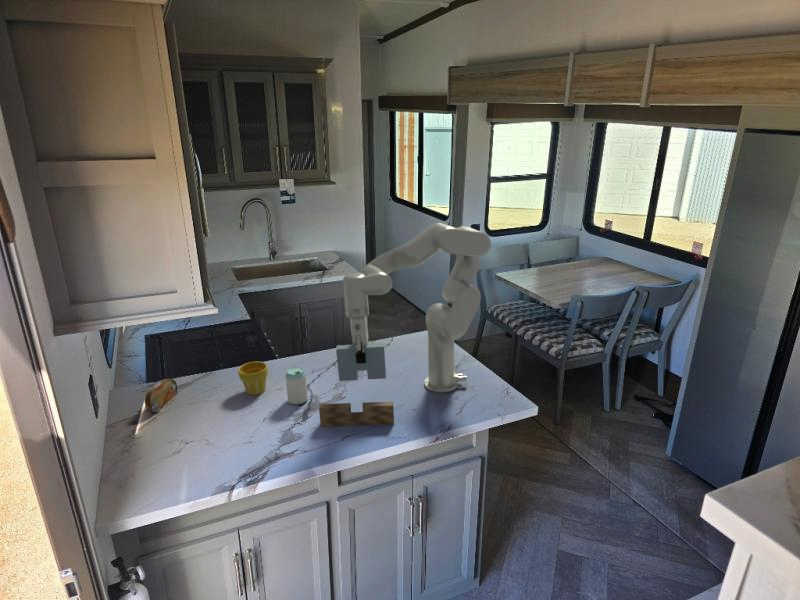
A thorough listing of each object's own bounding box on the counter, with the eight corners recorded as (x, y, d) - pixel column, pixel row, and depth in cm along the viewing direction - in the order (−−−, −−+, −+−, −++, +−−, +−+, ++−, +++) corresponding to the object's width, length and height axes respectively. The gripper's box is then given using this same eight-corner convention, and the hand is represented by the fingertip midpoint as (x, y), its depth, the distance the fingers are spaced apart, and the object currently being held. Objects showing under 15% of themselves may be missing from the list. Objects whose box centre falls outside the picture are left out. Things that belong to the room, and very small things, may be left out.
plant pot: (236, 396, 191) (232, 372, 187) (250, 383, 200) (247, 359, 197) (261, 399, 188) (258, 375, 185) (274, 385, 198) (272, 362, 194)
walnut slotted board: (393, 420, 174) (393, 401, 171) (394, 424, 171) (393, 405, 169) (321, 422, 173) (319, 404, 171) (320, 426, 171) (319, 408, 168)
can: (311, 396, 189) (308, 367, 185) (303, 406, 183) (300, 376, 179) (293, 394, 191) (290, 365, 187) (284, 404, 185) (281, 374, 181)
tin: (153, 417, 179) (149, 395, 176) (145, 416, 180) (140, 394, 177) (179, 395, 193) (175, 374, 190) (172, 394, 193) (168, 374, 191)
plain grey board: (385, 374, 182) (383, 342, 178) (385, 378, 179) (383, 346, 175) (340, 376, 182) (336, 345, 178) (339, 381, 179) (336, 349, 175)
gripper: (367, 319, 164) (371, 371, 170) (369, 301, 179) (373, 349, 186) (344, 320, 164) (348, 372, 170) (347, 302, 179) (351, 350, 186)
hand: (361, 360), depth 178 cm, fingers closed on plain grey board, 3 cm apart
